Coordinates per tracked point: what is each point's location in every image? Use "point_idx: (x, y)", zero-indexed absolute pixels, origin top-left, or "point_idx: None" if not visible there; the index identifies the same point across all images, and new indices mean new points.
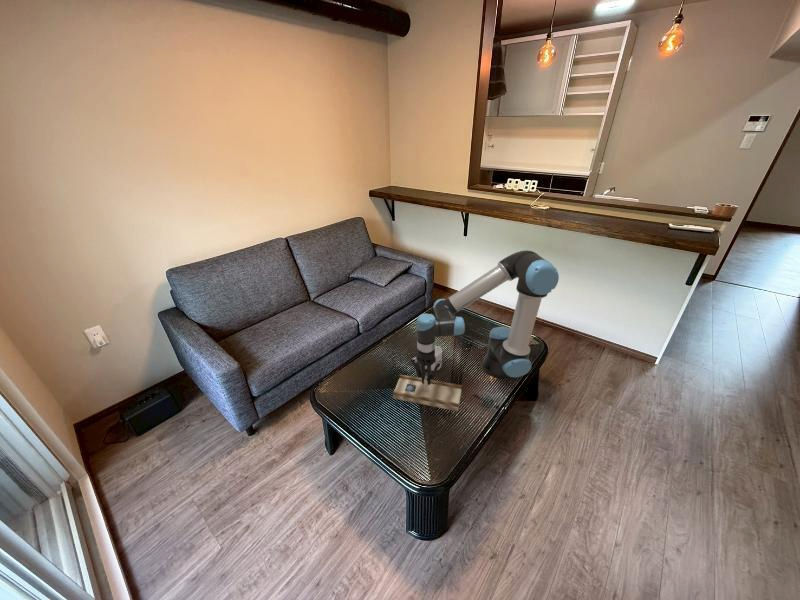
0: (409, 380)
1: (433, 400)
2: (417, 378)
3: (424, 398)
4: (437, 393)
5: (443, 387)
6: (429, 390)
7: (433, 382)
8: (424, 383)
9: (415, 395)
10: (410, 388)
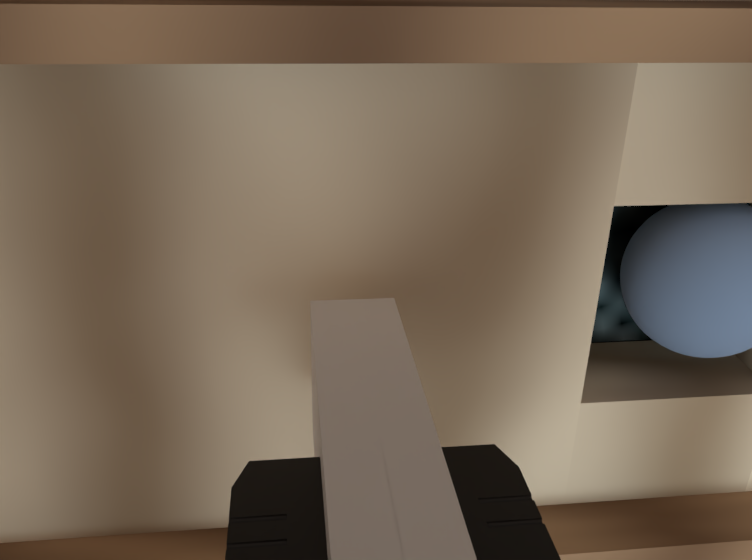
0: (732, 474)
1: (33, 3)
2: (599, 557)
3: (322, 6)
4: (67, 317)
5: (1, 502)
6: (278, 350)
7: None
8: (430, 455)
9: (602, 52)
10: (724, 277)
